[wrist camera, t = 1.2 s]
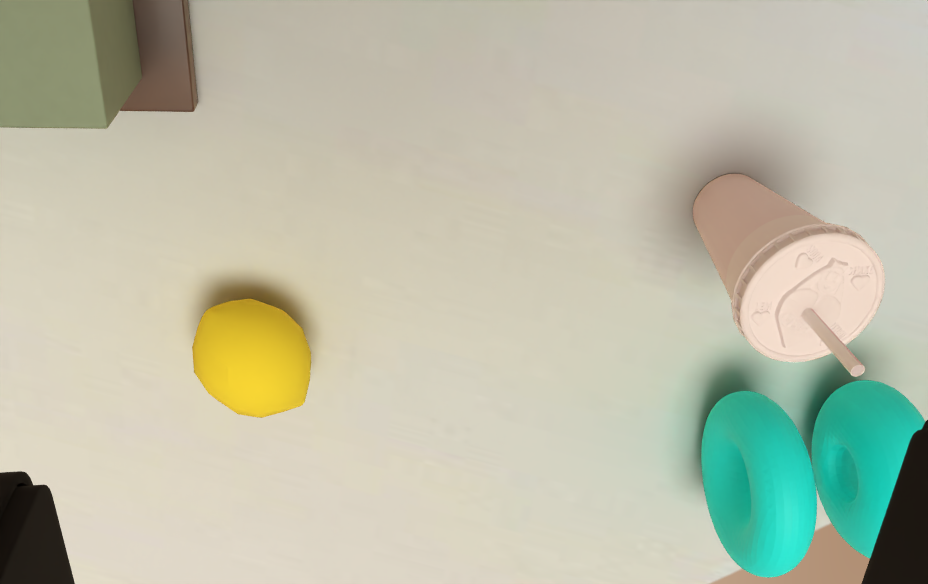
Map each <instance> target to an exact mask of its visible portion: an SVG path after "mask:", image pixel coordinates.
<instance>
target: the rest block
mask: <svg viewBox="0 0 928 584" xmlns="http://www.w3.org/2000/svg"><path fill="white" fill-rule="evenodd" d="M141 78H142V72H141V64H140V56H139V48H138V40H137V32H136V25H135V17H134V9H133V1H132V0H0V127H16V128H98V129H106V128H108V127H109V125H110V124H111V122H112V121H113V119H114V118H115V116H116V115H117V113H118V112H119V111H120V109H121V108H122V106H123V105H124V103H125V102H126V100H127V99H128V97H129V96H130V94H131V93H132V92H133V90H134V89H135V87H136V86H137V84H138V83H139V81H140V80H141Z"/></svg>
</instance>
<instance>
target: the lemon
mask: <svg viewBox="0 0 928 584" xmlns="http://www.w3.org/2000/svg"><path fill="white" fill-rule="evenodd" d="M192 349H193V362H194V372H195V374H196V375H197V377H198V378H199V380H200V381H201V383H202V384H203V386H204V387H205V389H206V390H207V392H208V393H209V394H210V395H212V396H213V397H214V398H215V399H217V400H218V401H219V402H221V403H222V404H224V405H225V406H227V407H228V408H230V409H231V410H233V411H234V412H236V413H237V414H241V415H247V416H253V417H260V418H262V417H266V416H269V415H273V414H277V413H280V412H284V411H287V410H290V409H293V408H296V407H299V406H301V405H302V404H303V403H304V402H305V398H306V394H307V390H308V385H309V381H310V367H311V352H310V349H309V346H308V343H307V340H306V338H305V335H304V332H303V329H302V328H301V327H300V326H299V325H298V324H297V323H296V322H295V321H294V320H293V319H292V318H291V317H290V316H289V315H288V314H287V313H286V312H285V311H283V310H281V309H278V308H276V307H274V306H271V305H268V304H265V303H263V302H260V301H257V300H254V299H242V300H234V301H228V302H225V303H222V304H219V305H216V306H213V307H211V308H209V309H208V310H206V312H205V313H204V315H203V316H202V318H201V321H200V323H199V325H198V328H197V332H196V336H195V339H194V343H193V347H192Z"/></svg>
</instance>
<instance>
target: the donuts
mask: <svg viewBox="0 0 928 584" xmlns="http://www.w3.org/2000/svg"><path fill="white" fill-rule="evenodd" d="M924 424H925V420H924V419H923V417H922V416H921V414H920V413H919V411H918V410H917V409H916V408H915V406H914V405H913V404H912V403H911V402H910V401H909V400H908V399H907V398H906V397H905V396H904V395H903V394H901V393H900V392H899V391H897V390H896V389H894V388H892V387H890V386H888V385H886V384H884V383H881V382H877V381H871V380H860V381H854V382H851V383H848V384H845V385H843V386H842V387H840V388H838V389H837V390H835V391H834V392H833V393H832V394H831V395H830V396H829V397H828V399H827V400H826V401H825V402H824V404H823V406H822V408H821V410H820V412H819V414H818V416H817V419H816V422H815V426H814V430H813V437H812V465H811V461H810V458H809V454H808V452H807V449H806V446H805V444H804V442H803V439H802V437H801V435H800V433H799V431H798V430H797V428H796V426H795V424H794V423H793V421H792V420H791V418H790V417H789V416H788V415H787V414H786V412H785V411H784V410H783V409H782V408H781V407H780V406H779V405H778V404H776V403H775V402H774V401H772V400H771V399H769V398H768V397H766V396H764V395H761V394H759V393H756V392H751V391H738V392H733V393H731V394H728V395H726V396H725V397H723V398H722V399H720V400H719V401H718V402H717V403H716V404H715V406H714V407H713V408H712V410H711V412H710V413H709V416H708V418H707V421H706V424H705V428H704V432H703V438H702V450H701V464H702V477H703V485H704V491H705V496H706V501H707V505H708V509H709V513H710V516H711V519H712V522H713V525H714V527H715V530H716V532H717V535H718V537H719V539H720V541H721V543H722V544H723V546H724V548H725V549H726V551H727V552H728V554H729V555H730V557H731V558H732V559H733V560H734V561H735V562H736V563H737V564H738V565H739V566H740V567H741V568H743V569H744V570H746V571H747V572H749V573H752V574H754V575H756V576H761V577H777V576H780V575H783V574H786V573H787V572H789V571H791V570H792V569H793V568H794V567H796V566H797V565H798V564H799V562H800V561H801V560H802V559H803V558H804V556H805V554H806V552H807V550H808V548H809V546H810V544H811V541H812V538H813V535H814V530H815V524H816V515H817V495H816V487H817V491H818V494H819V497H820V500H821V502H822V505H823V507H824V509H825V511H826V514H827V515H828V517H829V519H830V521H831V523H832V524H833V526H834V527H835V529H836V530H837V532H838V533H839V534H840V535H841V537H842V538H844V540H845V541H846V542H847V543H848V544H849V545H850V546H851V547H853V548H854V549H855V550H856V551H858V552H859V553H861V554H863V555H864V556H866V557H868V558H871V555H872V552H873V549H874V546H875V543H876V540H877V537H878V534H879V531H880V528H881V525H882V522H883V519H884V516H885V513H886V510H887V507H888V504H889V501H890V498H891V495H892V493H893V490H894V487H895V484H896V481H897V478H898V475H899V472H900V469H901V466H902V463H903V460H904V457H905V454H906V451H907V448H908V445H909V442H910V439H911V438H912V436H913V434H914V433H915V432H916V431H917V430H921V429H922V428H923V426H924ZM812 467H813V468H812ZM815 483H816V485H815Z"/></svg>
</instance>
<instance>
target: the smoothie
mask: <svg viewBox="0 0 928 584" xmlns="http://www.w3.org/2000/svg"><path fill="white" fill-rule="evenodd" d="M693 220H694V223H695V225H696V227H697V229H698V231H699V233H700V236H701V238H702V240H703V242H704V244H705V246H706V248H707V250H708V252H709V254H710V256H711V258H712V261H713V263H714V265H715V267H716V269H717V271H718V273H719V275H720V277H721V279H722V281H723V283H724V286H725V288H726V290H727V292H728V294H729V297H730V299H731V301H732V302H731V305H732V313H733V320H734V322H735V324H736V326H737V328H738V330H739V332H740V333H741V334H742V335H743V336H744V337H745V338H746V339H747V340H748V342H749V343H750V344H751V345H752V347H753V348H754V349H756V350H757V351H758V352H759V353H761V354H763V355H764V356H766V357H769V358H771V359H774V360H778V361H784V362H803V361H809V360H814V359H817V358H821V357H823V356H826V355H828V354H831V353H833V354H834V355H835V356H836V357H837V359H838V360H839V361H840V362H841V363H842V364H843V366H844V367H845V368H846V369H847V370H848V371H849V373H850V374H851V375H852V376H854V377H857V376H860V375H862V374H863V372H864V371H865V367H864V366H863V365H862V364H861V362H860V361H859V360H858V359H857V358H856V357H855V356H854V355H853V353H852V352H851V351H850V350H849V349H848V348H847V347H846V346H845V345H846V344H848V343H849V342H851V341H852V340H853V339H854V338H855V337H857V336H858V335H859V334H860V333H861V332H862V331H863V330H864V329H865V327H866V326H867V325H868V324H869V322H870V321H871V320H872V318H873V317H874V315H875V313H876V312H877V310H878V308H879V305H880V303H881V300H882V297H883V293H884V287H885V274H884V269H883V265H882V263H881V260H880V258H879V257H878V255H877V254H876V252H875V251H874V250H873V249H872V248H871V247H870V246H869V245H868V243H867V242H866V241H865V240H864V239H863V238H862V237H861V235H859V234H857V233H856V232H854V231H852V230H850V229H849V228H847V227H844V226H840V225H835V224H830V223H825V222H824V221H822V220H820V219H818V218H816V217H815V216H813V215H811V214H810V213H808V212H806V211H805V210H803V209H801V208H800V207H798V206H796V205H795V204H793V203H792V202H790V201H788V200H787V199H785V198H783V197H782V196H780V195H778V194H777V193H775V192H773V191H772V190H770V189H768V188H767V187H765V186H763V185H762V184H760V183H758V182H757V181H755V180H753V179H752V178H750V177H748V176H746V175H742V174H727V175H723V176H720V177H718V178H716V179H714V180H712V181H711V182H709V183H708V184H707V185H706V186H705V187H704V188H703V189H702V190H701V191H700V193H699V194H698V196H697V198H696V200H695V203H694V206H693Z"/></svg>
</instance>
